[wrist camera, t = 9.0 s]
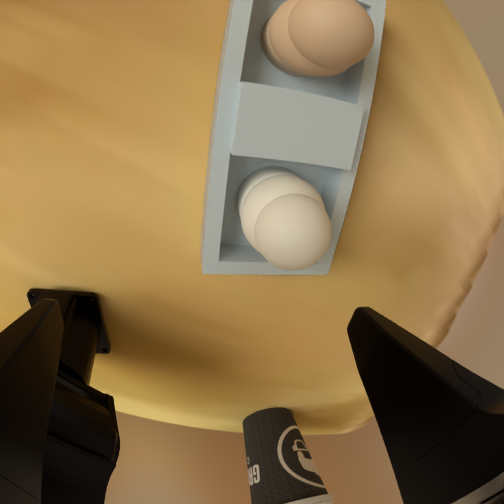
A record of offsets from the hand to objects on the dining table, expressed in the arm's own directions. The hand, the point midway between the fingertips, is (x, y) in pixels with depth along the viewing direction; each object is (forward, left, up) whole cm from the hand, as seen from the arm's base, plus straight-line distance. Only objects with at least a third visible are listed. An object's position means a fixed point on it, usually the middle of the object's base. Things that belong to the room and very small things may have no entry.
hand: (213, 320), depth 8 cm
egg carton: (+5, -4, -11) cm, 13 cm away
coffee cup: (-29, -9, -12) cm, 33 cm away
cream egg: (0, -4, -11) cm, 12 cm away
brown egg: (+10, -4, -11) cm, 15 cm away
